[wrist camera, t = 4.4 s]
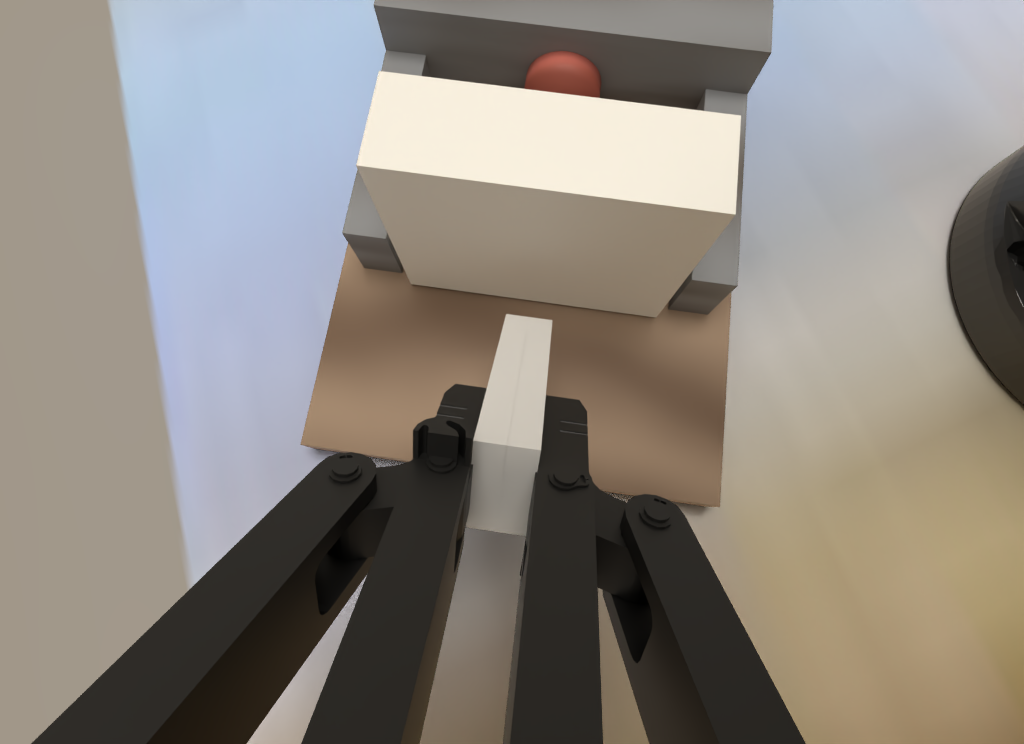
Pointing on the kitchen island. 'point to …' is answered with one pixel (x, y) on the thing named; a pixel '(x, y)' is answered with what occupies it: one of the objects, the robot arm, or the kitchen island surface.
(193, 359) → the kitchen island surface
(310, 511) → the robot arm
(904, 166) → the kitchen island surface
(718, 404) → the housing
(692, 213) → the cream rectangular block
